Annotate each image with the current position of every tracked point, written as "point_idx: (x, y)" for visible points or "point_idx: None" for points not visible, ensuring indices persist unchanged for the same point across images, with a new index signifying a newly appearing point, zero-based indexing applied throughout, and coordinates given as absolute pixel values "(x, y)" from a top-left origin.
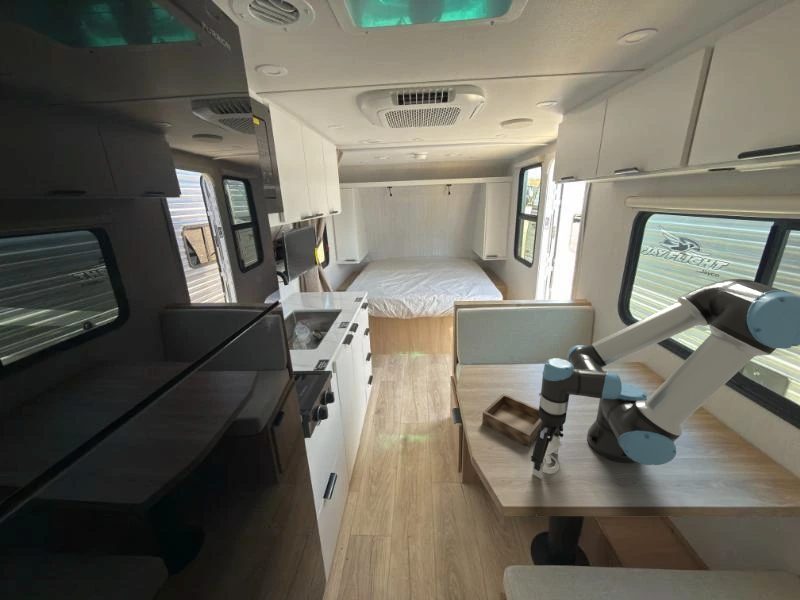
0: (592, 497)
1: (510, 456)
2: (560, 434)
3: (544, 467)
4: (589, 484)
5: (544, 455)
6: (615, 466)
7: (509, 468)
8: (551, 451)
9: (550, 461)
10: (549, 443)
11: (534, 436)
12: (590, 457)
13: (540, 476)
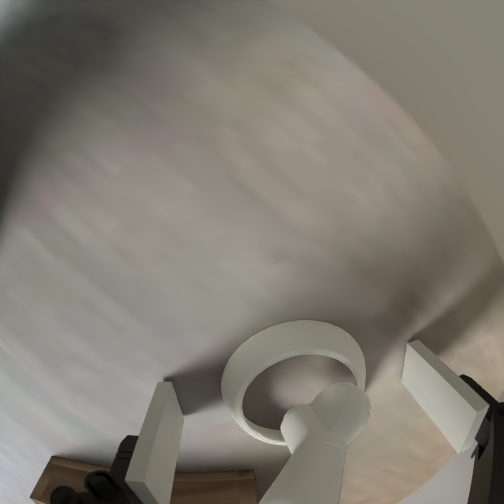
0: (330, 87)
1: (364, 466)
2: (109, 496)
3: (363, 377)
4: (244, 131)
5: (500, 443)
6: (5, 117)
7: (425, 430)
8: (344, 455)
9: (358, 393)
10: (177, 455)
11: (179, 487)
12: (29, 233)
13: (424, 350)
